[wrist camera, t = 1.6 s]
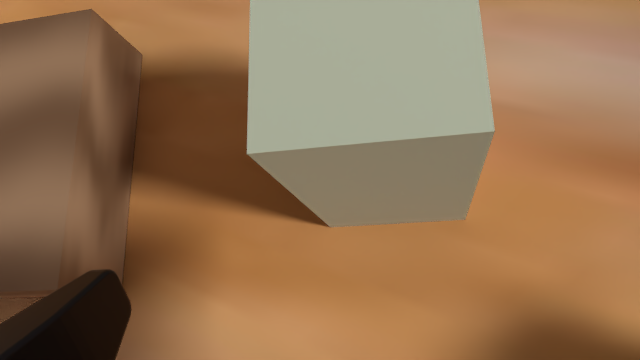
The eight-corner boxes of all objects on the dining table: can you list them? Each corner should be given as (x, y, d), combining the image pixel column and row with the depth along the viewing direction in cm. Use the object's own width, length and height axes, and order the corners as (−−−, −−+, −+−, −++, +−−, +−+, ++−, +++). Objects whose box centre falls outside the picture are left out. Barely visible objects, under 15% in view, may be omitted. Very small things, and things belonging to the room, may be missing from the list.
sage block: (465, 219, 20) (494, 131, 10) (330, 227, 21) (246, 154, 12) (452, 93, 21) (468, -83, 12) (327, 107, 22) (251, -45, 13)
